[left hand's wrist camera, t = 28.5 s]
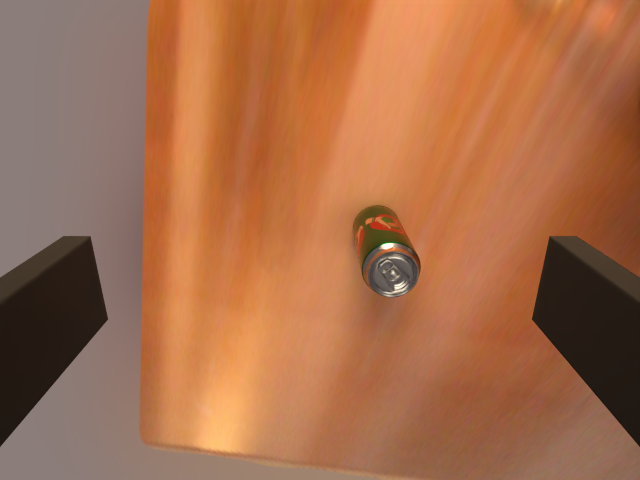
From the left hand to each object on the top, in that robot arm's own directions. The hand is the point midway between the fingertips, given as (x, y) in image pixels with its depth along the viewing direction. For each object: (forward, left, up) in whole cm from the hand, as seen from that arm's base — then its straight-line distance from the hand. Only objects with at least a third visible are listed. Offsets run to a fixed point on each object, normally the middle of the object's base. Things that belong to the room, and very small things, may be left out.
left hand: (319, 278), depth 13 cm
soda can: (+1, +12, -33) cm, 35 cm away
